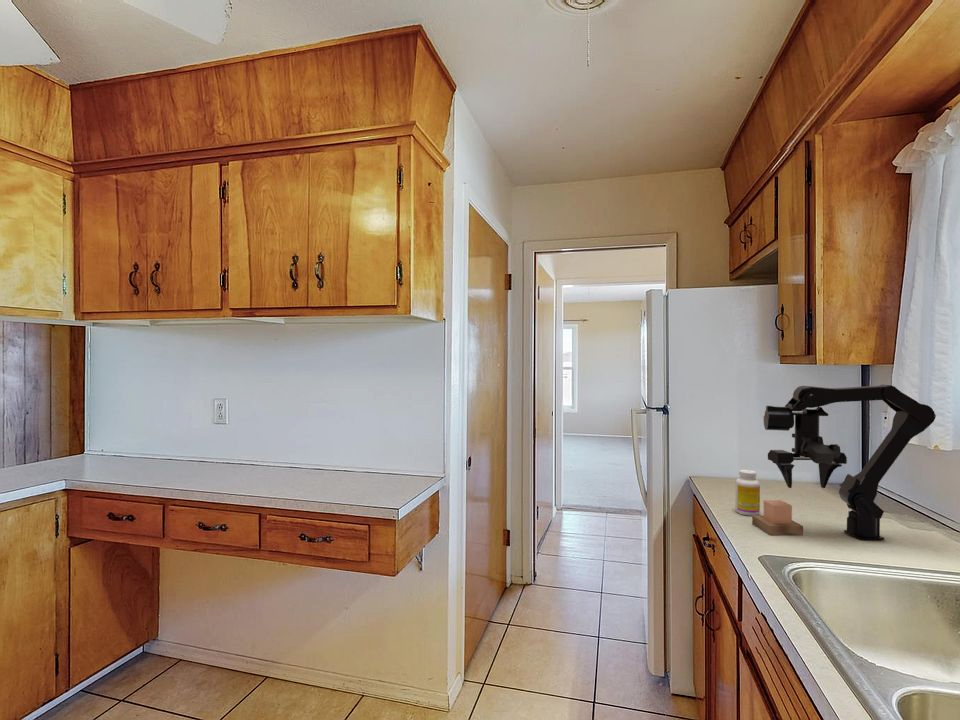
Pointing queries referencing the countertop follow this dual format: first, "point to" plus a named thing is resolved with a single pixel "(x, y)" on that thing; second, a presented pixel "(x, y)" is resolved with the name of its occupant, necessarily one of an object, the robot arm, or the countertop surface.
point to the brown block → (777, 527)
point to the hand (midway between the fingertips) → (806, 487)
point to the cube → (777, 512)
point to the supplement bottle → (747, 493)
